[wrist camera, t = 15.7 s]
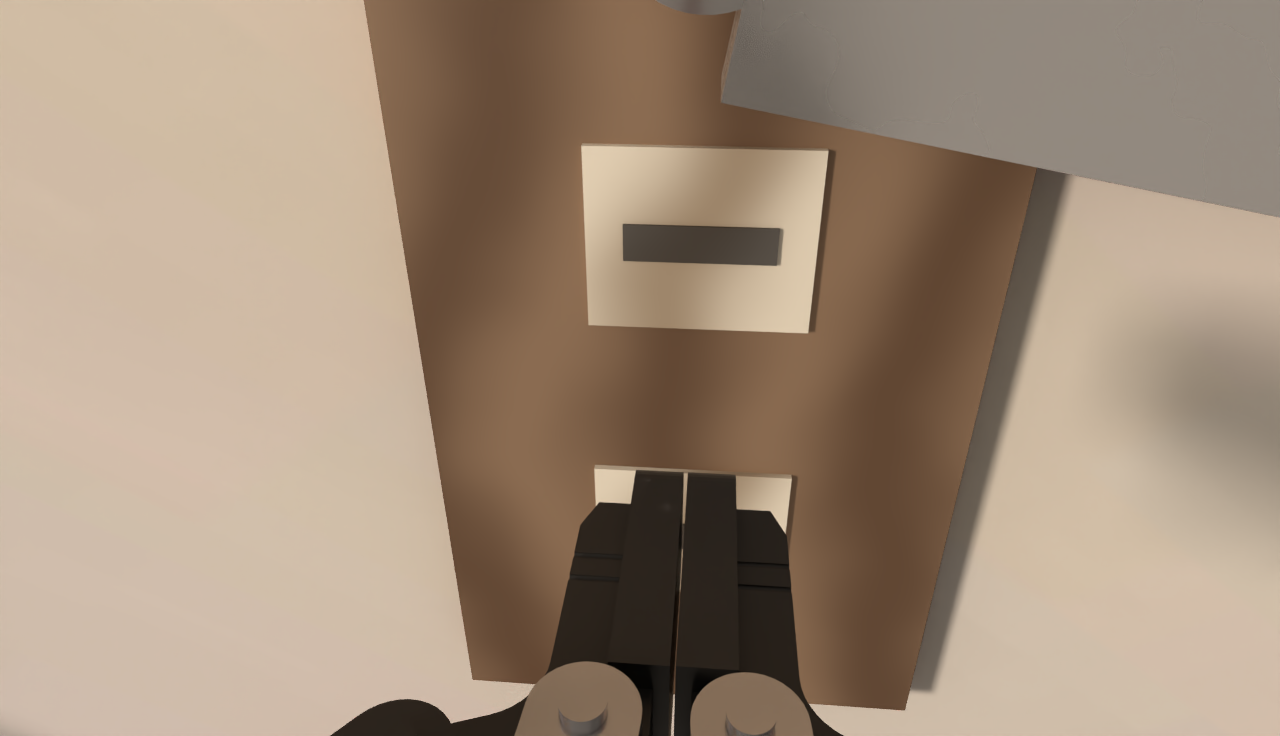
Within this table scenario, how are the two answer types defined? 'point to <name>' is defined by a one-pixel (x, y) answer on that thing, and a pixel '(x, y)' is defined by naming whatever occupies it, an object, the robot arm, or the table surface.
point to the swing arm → (1032, 83)
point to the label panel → (683, 315)
